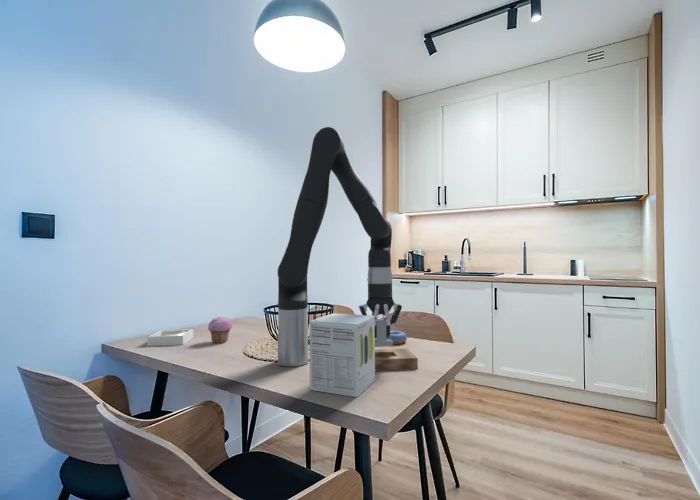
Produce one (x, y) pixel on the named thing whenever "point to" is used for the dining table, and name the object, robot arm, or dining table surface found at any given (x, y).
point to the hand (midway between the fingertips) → (380, 337)
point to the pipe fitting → (176, 333)
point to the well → (395, 359)
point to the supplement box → (342, 353)
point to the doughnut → (397, 337)
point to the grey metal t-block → (382, 334)
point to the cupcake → (220, 329)
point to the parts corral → (169, 337)
